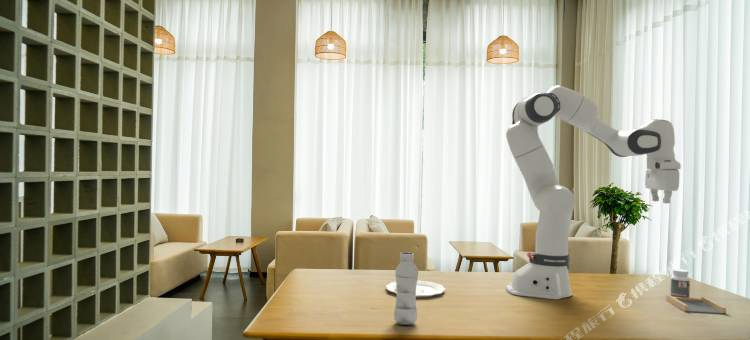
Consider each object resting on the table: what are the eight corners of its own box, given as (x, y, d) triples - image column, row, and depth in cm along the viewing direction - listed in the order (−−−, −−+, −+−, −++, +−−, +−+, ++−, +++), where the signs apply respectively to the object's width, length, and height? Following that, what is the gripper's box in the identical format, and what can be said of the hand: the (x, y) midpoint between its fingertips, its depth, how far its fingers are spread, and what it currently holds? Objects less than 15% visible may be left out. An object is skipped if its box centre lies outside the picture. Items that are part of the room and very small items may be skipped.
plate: (374, 289, 172) (374, 284, 172) (417, 281, 185) (417, 277, 185) (412, 303, 156) (412, 298, 156) (457, 294, 168) (457, 289, 168)
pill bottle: (692, 301, 164) (693, 272, 164) (674, 299, 165) (674, 271, 165) (685, 296, 169) (685, 268, 169) (667, 295, 171) (668, 267, 170)
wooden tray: (684, 311, 151) (684, 305, 151) (665, 299, 165) (665, 294, 165) (725, 314, 149) (726, 308, 149) (703, 302, 163) (703, 296, 163)
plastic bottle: (392, 320, 138) (393, 251, 137) (415, 320, 138) (416, 251, 138) (395, 327, 131) (396, 255, 131) (419, 327, 132) (420, 255, 132)
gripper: (640, 164, 184) (640, 200, 184) (663, 164, 164) (663, 204, 164) (658, 164, 183) (658, 200, 183) (683, 164, 163) (683, 204, 163)
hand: (660, 202), depth 173 cm, fingers open, 8 cm apart
